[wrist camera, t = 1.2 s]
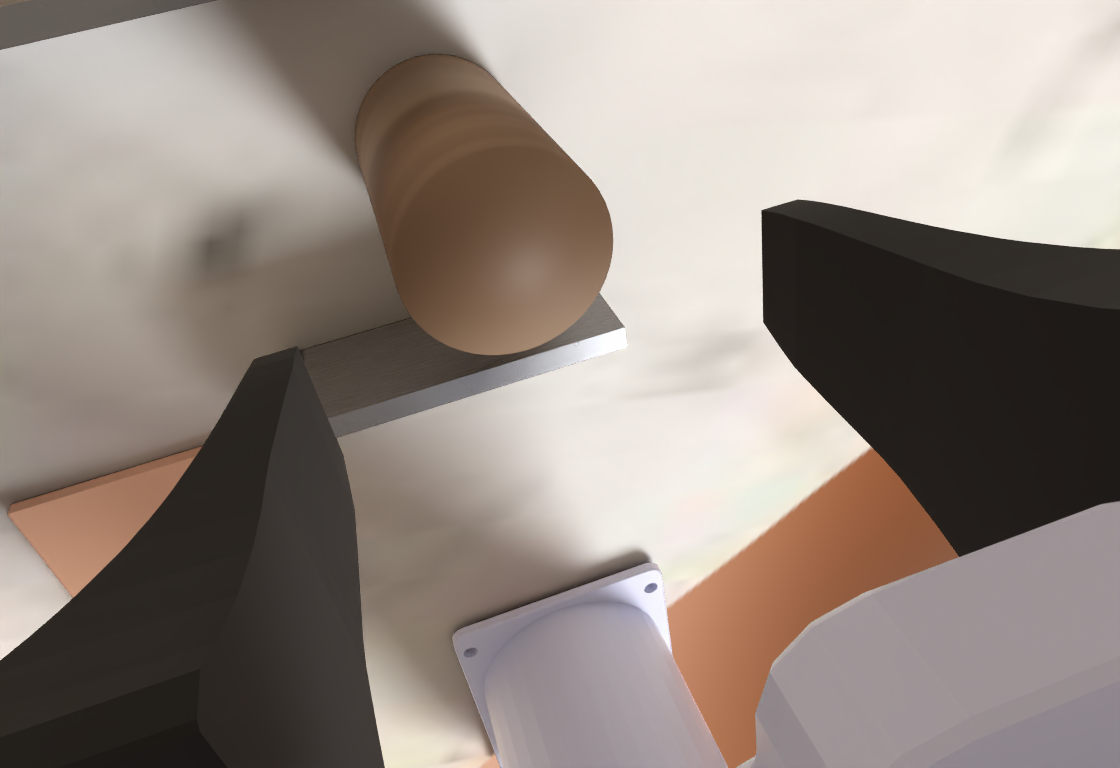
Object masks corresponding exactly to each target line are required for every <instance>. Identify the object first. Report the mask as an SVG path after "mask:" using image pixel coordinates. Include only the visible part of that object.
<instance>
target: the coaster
mask: <svg viewBox="0 0 1120 768" xmlns="http://www.w3.org/2000/svg"><path fill="white" fill-rule="evenodd" d="M201 448H202V446H201V447H197V448H194V449H191V450H188V451H184V452H181V453H178V454H174V455H171V456H168V457H165V458H161V459H158V460H155V461H152V462H148V463H145V464H142V465H138V466H135V467H132V468H129V469H125V470H122V471H119V472H116V473H112V474H109V475H106V476H103V477H99V478H96V479H93V480H89V481H86V482H83V483H80V484H76V485H73V486H70V487H67V488H63V489H60V490H57V491H53V492H50V493H47V494H44V495H40V496H37V497H34V498H31V499H27V500H24V501H21V502H18V503H14V504H11V505H10V508H9V511H8V514H7V515H8V516H9V517H10V519H11V520H12V521H13V522H14V524H15V525H16V526H17V527H18V529H19V530H20V531H21V533H22V534H23V535H24V536H25V538H26V539H27V540H28V541H29V543H30V544H31V545H32V546H33V548H34V549H35V550H36V552H37V553H38V554H39V555H40V557H41V558H42V559H43V560H44V562H45V563H46V564H47V565H48V567H49V568H50V569H51V570H52V572H53V573H54V574H55V576H56V577H57V578H58V579H59V581H60V582H61V583H62V584H63V586H64V587H65V588H66V589H67V591H68V592H69V593H70V595H71V596H72V597H73V598H74V597H75V596H76V595H77V594H78V593H79V592H80V591H81V590H82V589H83V588H84V587H85V586H86V585H87V584H88V583H89V582H90V581H91V580H92V579H93V578H94V577H95V576H96V575H97V574H98V573H99V572H100V571H101V570H102V569H103V568H104V567H105V566H106V565H107V564H108V563H109V562H110V561H111V560H112V559H113V558H114V557H115V556H116V555H117V554H118V553H119V552H120V551H121V550H122V549H123V548H124V547H125V546H126V545H127V544H128V543H129V541H130V540H131V539H132V538H133V537H134V536H135V535H136V533H137V532H138V531H139V530H140V529H141V528H142V527H143V525H144V524H145V523H146V522H147V521H148V520H149V518H150V517H151V516H152V515H153V514H154V512H155V511H156V510H157V509H158V508H159V506H160V505H161V504H162V503H163V501H164V500H165V499H166V497H167V496H168V495H169V493H170V492H171V491H172V490H173V488H174V487H175V485H176V484H177V482H178V481H179V479H180V478H181V477H182V475H183V474H184V472H185V471H186V469H187V468H188V467H189V465H190V464H191V462H192V461H193V459H194V458H195V456H196V455H197V454H198V452H199V451H200V449H201Z"/></svg>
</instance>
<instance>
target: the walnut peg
mask: <svg viewBox="0 0 1120 768" xmlns="http://www.w3.org/2000/svg"><path fill="white" fill-rule="evenodd" d="M355 145H356V153H357V157H358V161H359V164H360V167H361V171H362V174H363V177H364V181H365V184H366V187H367V191H368V194H369V197H370V201H371V204H372V207H373V211H374V214H375V217H376V221H377V224H378V227H379V231H380V234H381V237H382V241H383V244H384V247H385V251H386V254H387V257H388V261H389V264H390V267H391V271H392V274H393V277H394V281H395V284H396V287H397V290H398V293H399V295H400V298H401V300H402V302H403V304H404V306H405V308H406V309H407V311H408V313H409V314H410V315H411V317H412V318H413V319H414V320H415V322H416V323H417V324H418V325H419V326H420V327H421V328H422V329H423V330H424V331H425V332H427V333H428V334H429V335H431V336H432V337H434V338H435V339H436V340H438V341H440V342H442V343H444V344H446V345H448V346H450V347H452V348H455V349H458V350H461V351H464V352H469V353H473V354H482V355H504V354H512V353H517V352H521V351H525V350H529V349H531V348H534V347H537V346H539V345H542V344H544V343H546V342H548V341H550V340H552V339H553V338H555V337H557V336H558V335H560V334H561V333H563V332H564V331H566V330H567V329H568V328H569V327H570V326H572V325H573V324H574V323H575V322H576V321H577V320H578V319H579V318H580V317H581V316H582V315H583V314H584V313H585V312H586V311H587V309H588V308H589V307H590V306H591V304H592V303H593V302H594V300H595V298H596V297H597V295H598V294H599V292H600V290H601V288H602V286H603V284H604V281H605V279H606V276H607V273H608V270H609V267H610V263H611V258H612V251H613V230H612V223H611V219H610V214H609V211H608V208H607V206H606V203H605V201H604V199H603V197H602V195H601V193H600V191H599V190H598V188H597V187H596V186H595V184H594V183H593V182H592V180H591V179H590V178H589V177H588V176H587V175H586V174H585V173H584V172H583V171H582V169H581V168H580V167H579V166H578V165H577V164H576V163H575V162H574V161H573V160H572V159H571V158H570V157H569V156H568V155H567V154H566V153H565V152H564V151H563V150H562V148H561V147H560V146H559V145H558V144H557V143H556V142H555V141H554V140H553V139H552V138H551V137H550V136H549V135H548V134H547V133H546V132H545V131H544V130H543V129H542V127H541V126H540V125H539V124H538V123H537V122H536V121H535V120H534V119H533V118H532V117H531V116H530V115H529V114H528V113H527V112H526V111H525V110H524V109H523V108H522V107H521V105H520V104H519V103H518V102H517V101H516V100H515V99H514V98H513V97H512V96H511V95H510V94H509V93H508V92H507V91H506V90H505V89H504V88H503V87H502V86H501V84H500V83H499V82H498V81H497V80H496V79H495V78H494V77H493V76H492V75H491V74H489V73H488V72H487V71H486V70H484V69H483V68H482V67H480V66H478V65H476V64H475V63H473V62H471V61H468V60H466V59H463V58H460V57H456V56H452V55H443V54H429V55H423V56H417V57H414V58H411V59H408V60H405V61H403V62H401V63H399V64H397V65H395V66H394V67H392V68H391V69H389V70H388V71H387V72H385V73H384V74H383V75H382V76H381V77H380V78H379V79H378V80H377V81H376V82H375V83H374V85H373V86H372V87H371V88H370V90H369V91H368V93H367V95H366V96H365V98H364V100H363V102H362V104H361V107H360V110H359V113H358V116H357V121H356V127H355Z"/></svg>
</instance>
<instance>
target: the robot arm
mask: <svg viewBox="0 0 1120 768" xmlns="http://www.w3.org/2000/svg"><path fill="white" fill-rule="evenodd" d="M761 211H762V270H763V322H764V324H765V325H766V327H767V328H768V330H769V331H770V333H771V334H772V336H773V337H774V339H775V340H776V342H777V343H778V345H779V346H780V348H781V349H782V351H783V352H784V353H785V355H786V356H787V357H788V359H789V360H790V361H791V363H792V364H793V366H794V367H795V368H796V369H797V370H798V371H799V372H800V373H801V375H802V376H803V377H804V378H805V379H806V380H807V381H808V382H809V383H810V384H811V385H812V386H813V387H814V388H815V389H816V390H817V391H818V392H819V393H820V395H821V396H822V397H823V398H824V399H825V400H826V401H827V402H828V403H829V404H830V405H831V406H832V407H833V408H834V409H835V410H836V411H837V412H838V413H839V414H840V415H841V416H842V417H843V418H844V419H845V420H846V421H847V422H848V423H849V424H850V425H851V426H852V427H853V428H854V429H855V430H856V431H857V432H858V433H859V434H860V435H861V436H862V437H863V439H864V440H865V441H866V442H867V443H868V444H869V445H870V446H871V447H872V448H873V449H874V450H875V451H876V452H877V453H878V454H879V455H880V456H881V457H882V458H883V459H884V460H885V461H886V462H887V464H888V465H889V466H890V467H891V468H892V469H893V470H894V471H895V473H897V475H898V476H899V477H900V478H901V480H902V481H903V482H904V483H905V484H906V486H907V487H908V488H909V490H910V491H911V492H912V494H913V495H914V496H915V498H916V499H917V500H918V502H919V503H920V504H921V505H922V507H923V508H924V509H925V511H926V512H927V513H928V514H929V516H930V517H931V518H932V520H933V521H934V522H935V524H936V525H937V526H938V528H939V529H940V531H941V532H942V533H943V535H944V536H945V537H946V539H947V540H948V542H949V543H950V544H951V546H952V547H953V549H954V550H955V551H956V553H957V554H958V556H959V558H956V559H953V560H951V561H948V562H945V563H943V564H940V565H937V566H935V567H932V568H929V569H927V570H924V571H921V572H919V573H916V574H913V575H911V576H908V577H905V578H903V579H900V580H897V581H895V582H892V583H889V584H887V585H884V586H881V587H879V588H876V589H873V590H871V591H868V592H865V593H863V594H861V595H859V596H857V597H856V598H854V599H852V600H850V601H848V602H847V603H845V604H843V605H842V606H840V607H838V608H836V609H834V610H832V611H831V612H829V613H827V614H825V615H823V616H822V617H820V618H818V619H816V620H815V621H813V622H811V623H810V624H809V625H808V626H807V627H806V628H805V629H804V630H803V632H802V633H801V634H800V635H799V636H798V637H797V638H796V639H795V640H794V641H793V642H792V643H791V644H790V645H789V646H788V647H787V648H786V649H785V650H784V651H783V652H782V653H781V654H780V656H779V657H778V658H777V659H776V660H775V661H774V662H773V665H772V667H771V670H770V673H769V675H768V678H767V681H766V684H765V687H764V690H763V693H762V696H761V699H760V702H759V705H758V707H757V711H756V714H755V716H756V743H757V752H756V756H755V757H753V758H751V759H749V760H748V761H746V762H744V763H743V764H741V765H739V766H738V767H736V768H1120V249H1097V248H1082V247H1069V246H1060V245H1050V244H1041V243H1031V242H1022V241H1015V240H1007V239H1000V238H994V237H988V236H983V235H977V234H971V233H965V232H960V231H954V230H949V229H944V228H939V227H934V226H929V225H924V224H920V223H915V222H910V221H906V220H901V219H897V218H892V217H888V216H884V215H879V214H875V213H870V212H866V211H861V210H857V209H852V208H848V207H843V206H838V205H833V204H828V203H822V202H816V201H808V200H795V201H791V202H788V203H784V204H781V205H778V206H774V207H771V208H767V209H764V210H761ZM452 642H453V646H454V649H455V652H456V655H457V657H458V660H459V662H460V665H461V667H462V670H463V673H464V675H465V678H466V680H467V683H468V685H469V688H470V691H471V693H472V696H473V698H474V701H475V703H476V706H477V709H478V711H479V714H480V716H481V719H482V722H483V724H484V727H485V729H486V732H487V734H488V737H489V740H490V742H491V745H492V747H493V750H494V752H495V755H496V758H497V760H498V763H499V765H500V768H728V766H727V764H726V762H725V760H724V758H723V756H722V754H721V753H720V750H719V748H718V746H717V745H716V743H715V741H714V739H713V736H712V734H711V733H710V730H709V728H708V726H707V724H706V722H705V720H704V718H703V717H702V714H701V712H700V710H699V709H698V706H697V704H696V703H695V700H694V699H693V697H692V694H691V692H690V690H689V688H688V687H687V685H686V683H685V680H684V678H683V677H682V674H681V672H680V670H679V668H678V666H677V665H676V663H675V661H674V659H673V656H672V648H671V640H670V633H669V625H668V618H667V610H666V603H665V595H664V588H663V580H662V573H661V571H660V569H659V567H658V566H657V565H656V564H655V563H645V564H642V565H639V566H636V567H633V568H630V569H628V570H625V571H622V572H619V573H616V574H613V575H611V576H608V577H605V578H602V579H599V580H596V581H594V582H591V583H588V584H585V585H582V586H579V587H577V588H574V589H571V590H568V591H565V592H562V593H560V594H557V595H554V596H551V597H548V598H545V599H543V600H540V601H537V602H534V603H531V604H529V605H526V606H523V607H520V608H517V609H514V610H512V611H509V612H506V613H503V614H500V615H497V616H495V617H492V618H489V619H486V620H483V621H480V622H478V623H475V624H472V625H469V626H466V627H463V628H461V629H459V630H458V631H457V632H455V633H454V635H453V637H452ZM468 648H470V649H468ZM0 768H385V767H384V762H383V757H382V751H381V746H380V741H379V736H378V731H377V725H376V719H375V714H374V708H373V703H372V697H371V691H370V686H369V680H368V675H367V669H366V661H365V652H364V643H363V631H362V615H361V599H360V583H359V567H358V551H357V536H356V522H355V510H354V505H353V500H352V495H351V490H350V485H349V480H348V476H347V471H346V466H345V461H344V457H343V453H342V451H341V449H340V446H339V444H338V442H337V439H336V437H335V434H334V432H333V430H332V427H331V425H330V423H329V420H328V418H327V416H326V413H325V411H324V408H323V406H322V404H321V401H320V399H319V397H318V394H317V392H316V390H315V387H314V385H313V382H312V380H311V378H310V375H309V373H308V371H307V368H306V366H305V364H304V361H303V359H302V356H301V354H300V352H299V349H298V347H294V348H290V349H287V350H283V351H280V352H277V353H273V354H270V355H266V356H263V357H260V358H256V359H254V360H253V362H252V364H251V365H250V367H249V369H248V370H247V372H246V374H245V376H244V377H243V379H242V381H241V382H240V384H239V386H238V388H237V389H236V391H235V393H234V395H233V396H232V398H231V400H230V402H229V403H228V405H227V407H226V409H225V410H224V412H223V414H222V416H221V417H220V419H219V421H218V422H217V424H216V426H215V427H214V429H213V430H212V432H211V434H210V435H209V437H208V439H207V440H206V442H205V444H204V445H203V446H202V448H201V449H200V451H199V452H198V454H197V455H196V456H195V458H194V459H193V461H192V462H191V464H190V465H189V467H188V468H187V469H186V471H185V472H184V474H183V475H182V477H181V478H180V479H179V481H178V482H177V484H176V485H175V487H174V488H173V490H172V491H171V492H170V493H169V495H168V496H167V497H166V499H165V500H164V501H163V503H162V504H161V505H160V506H159V508H158V509H157V510H156V511H155V512H154V514H153V515H152V516H151V517H150V518H149V520H148V521H147V522H146V523H145V524H144V525H143V527H142V528H141V529H140V530H139V531H138V532H137V533H136V535H135V536H134V537H133V538H132V539H131V540H130V541H129V543H128V544H127V545H126V546H125V547H124V548H123V549H122V550H121V551H120V552H119V553H118V554H117V555H116V556H115V557H114V558H113V559H112V560H111V561H110V562H109V563H108V564H107V565H106V566H105V567H104V568H103V569H102V570H101V571H100V572H99V573H98V574H97V575H96V576H95V577H94V578H93V579H92V580H91V581H90V582H89V583H88V584H87V585H86V586H85V587H84V588H83V589H82V590H81V591H80V592H79V593H78V594H77V595H76V596H75V597H74V598H73V599H72V600H71V601H70V602H69V603H68V604H66V605H65V606H64V607H63V608H62V609H61V610H60V611H59V612H58V613H56V614H55V615H54V616H53V617H52V618H51V619H49V620H48V621H47V622H46V623H45V624H44V625H43V626H41V627H40V628H39V629H38V630H37V631H36V632H35V633H33V634H32V635H31V636H30V637H29V638H27V639H26V640H25V641H24V642H22V643H21V644H20V645H19V646H18V647H16V648H15V649H14V650H13V651H11V652H10V653H9V654H8V655H7V656H5V657H4V658H3V659H2V660H0Z"/></svg>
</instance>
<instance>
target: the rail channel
mask: <svg viewBox="0 0 1120 768" xmlns="http://www.w3.org/2000/svg"><path fill="white" fill-rule="evenodd" d="M211 1H216V0H0V50H2V49H6V48H10V47H15V46H19V45H24V44H28V43H32V42H37V41H41V40H45V39H50V38H54V37H58V36H63V35H67V34H72V33H76V32H80V31H85V30H89V29H93V28H98V27H102V26H106V25H111V24H115V23H120V22H124V21H128V20H133V19H137V18H141V17H146V16H150V15H154V14H159V13H163V12H168V11H172V10H176V9H181V8H185V7H189V6H194V5H198V4H203V3H207V2H211ZM626 347H627V341H626V333H625V327H624V326H623V324H622V323H621V322H620V320H619V319H618V318H617V316H616V315H615V313H614V312H613V311H612V309H611V308H610V307H609V305H608V304H607V303H606V301H605V300H604V299H603V297H602V296H601V294H600V293H599V294H598V295H597V297H596V298H595V300H594V302H593V303H592V304H591V306H590V307H589V308H588V309H587V311H586V312H585V313H584V314H583V315H582V316H581V317H580V318H579V319H578V320H577V321H576V322H575V323H574V324H573V325H572V326H570V327H569V328H568V329H567V330H566V331H564V332H563V333H561V334H560V335H558V336H557V337H555V338H553V339H552V340H550V341H548V342H546V343H544V344H542V345H539V346H537V347H534V348H531V349H529V350H525V351H521V352H517V353H512V354H504V355H482V354H473V353H469V352H464V351H461V350H458V349H455V348H452V347H450V346H448V345H446V344H444V343H442V342H440V341H438V340H436V339H435V338H434V337H432V336H431V335H429V334H428V333H427V332H425V331H424V330H423V329H422V328H421V327H420V326H419V325H418V324H417V323H416V322H415V320H414V319H413V318H409V319H406V320H403V321H399V322H396V323H392V324H389V325H386V326H382V327H379V328H375V329H372V330H369V331H365V332H362V333H358V334H355V335H352V336H348V337H345V338H341V339H338V340H335V341H331V342H328V343H324V344H321V345H318V346H314V347H311V348H307V349H304V350H301V351H299V352H300V354H301V356H302V359H303V361H304V364H305V366H306V368H307V371H308V373H309V375H310V378H311V380H312V382H313V385H314V387H315V390H316V392H317V394H318V397H319V399H320V401H321V404H322V406H323V408H324V411H325V413H326V416H327V418H328V420H329V423H330V425H331V427H332V430H333V432H334V434H335V437H336V438H338V437H341V436H344V435H347V434H350V433H354V432H357V431H360V430H363V429H366V428H370V427H373V426H376V425H379V424H383V423H386V422H389V421H392V420H395V419H399V418H402V417H405V416H408V415H411V414H415V413H418V412H421V411H424V410H427V409H431V408H434V407H437V406H440V405H443V404H447V403H450V402H453V401H456V400H460V399H463V398H466V397H469V396H472V395H476V394H479V393H482V392H485V391H488V390H492V389H495V388H498V387H501V386H504V385H508V384H511V383H514V382H517V381H520V380H524V379H527V378H530V377H533V376H537V375H540V374H543V373H546V372H549V371H553V370H556V369H559V368H562V367H565V366H569V365H572V364H575V363H578V362H581V361H585V360H588V359H591V358H594V357H597V356H601V355H604V354H607V353H610V352H613V351H617V350H620V349H623V348H626Z"/></svg>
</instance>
